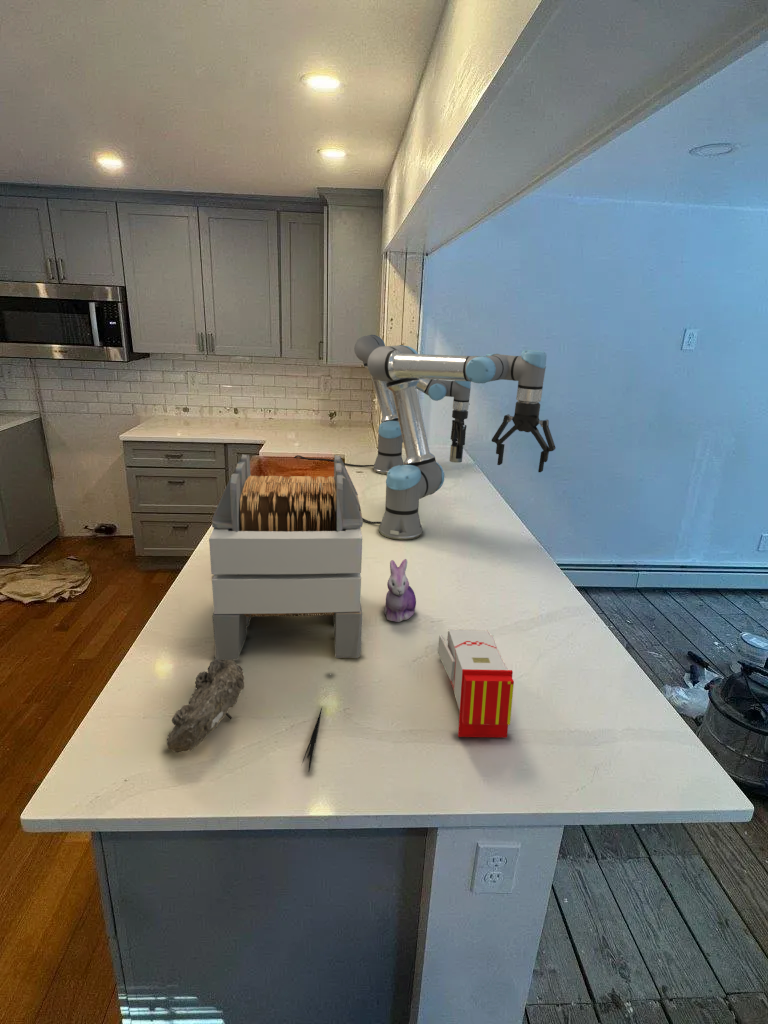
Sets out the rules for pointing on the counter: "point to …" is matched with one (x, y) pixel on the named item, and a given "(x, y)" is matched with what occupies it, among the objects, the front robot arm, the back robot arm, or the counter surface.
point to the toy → (478, 682)
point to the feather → (313, 740)
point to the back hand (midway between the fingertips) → (456, 456)
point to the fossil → (206, 705)
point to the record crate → (286, 555)
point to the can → (454, 454)
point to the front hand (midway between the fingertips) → (519, 467)
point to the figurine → (399, 594)
